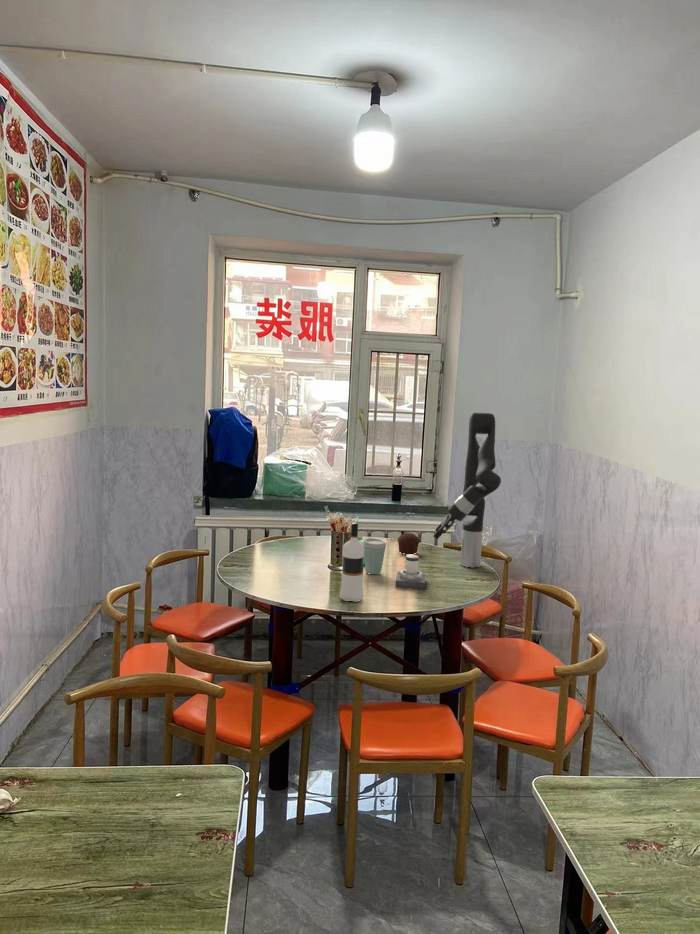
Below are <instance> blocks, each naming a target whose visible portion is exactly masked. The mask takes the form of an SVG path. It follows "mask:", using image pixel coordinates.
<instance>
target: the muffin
mask: <svg viewBox="0 0 700 934" xmlns="http://www.w3.org/2000/svg"><path fill="white" fill-rule="evenodd" d="M396 540H397V542H398V544H397V545H398V553H399V552H401V553H405V554H414V553H418V548H419V544H420V542H421V540H420V539H419V537H418V536H417V535H416V534H415V533H413V532H405V533H402V534H401V535H399V537H398V538H397V539H396Z"/></svg>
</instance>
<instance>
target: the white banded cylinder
mask: <svg viewBox="0 0 700 934" xmlns="http://www.w3.org/2000/svg"><path fill="white" fill-rule="evenodd" d="M419 560H420V557H419V555H418V554H416V555H405V567H404V570H405V574H410V575H417V574H418V571H419V564H420V563H419Z"/></svg>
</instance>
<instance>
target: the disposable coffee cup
mask: <svg viewBox="0 0 700 934" xmlns="http://www.w3.org/2000/svg"><path fill="white" fill-rule="evenodd" d="M363 541H364V542H363V543H362V544H363V545H364V548H365V551H364V561H365V565H364V568H365V570H364V571H365V572H367V573H370V574H378V575H380V574H381V572H382V570H383V569H382V568H383V563H384V557H385V553H386V547H387V543H386V542H385V541H384V540H383V539H380V538H375V537H367V538H364V539H363ZM367 573H366V574H367ZM379 573H380V574H379ZM370 574H369V575H370Z"/></svg>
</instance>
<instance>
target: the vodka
mask: <svg viewBox="0 0 700 934" xmlns="http://www.w3.org/2000/svg"><path fill="white" fill-rule="evenodd" d="M350 527H351V529H350V531H351V532H350V540H347V541H345V543H344V544H343V546H342V568H341V569H342V572H341V584H340V586H341V587H340V590H339V598H342V599H344V600H349V601H357V600H361V601H363V600H364V586H363V584H364V583H363V581H364V580H363V578H364V565H363V562H364V551H365V548H364V545H363V544H362V543H361V542H359V541H360V540H358V539H359V538H358V537H359V535H358V533H359V524H358V523H357V522H351V526H350ZM342 599H341V600H342Z"/></svg>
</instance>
